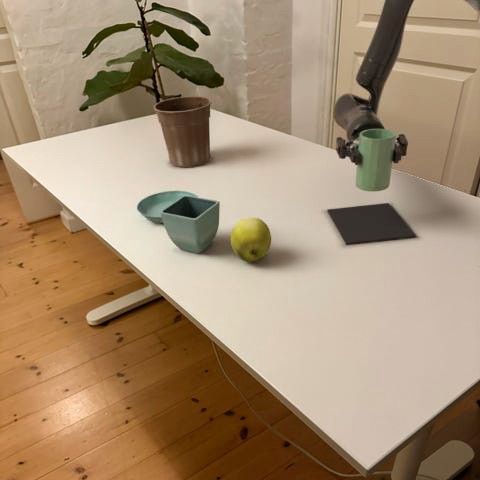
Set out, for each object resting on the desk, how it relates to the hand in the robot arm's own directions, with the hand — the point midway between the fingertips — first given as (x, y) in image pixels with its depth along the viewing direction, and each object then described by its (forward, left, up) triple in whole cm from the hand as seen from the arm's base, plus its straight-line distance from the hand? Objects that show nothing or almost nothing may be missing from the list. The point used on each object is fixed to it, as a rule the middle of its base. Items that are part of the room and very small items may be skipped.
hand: (377, 159), depth 88 cm
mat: (0, -2, -15) cm, 15 cm away
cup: (0, -2, -6) cm, 6 cm away
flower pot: (+37, 0, -15) cm, 39 cm away
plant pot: (+38, -54, -15) cm, 68 cm away
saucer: (+43, -18, -15) cm, 49 cm away
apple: (+26, +7, -15) cm, 30 cm away
